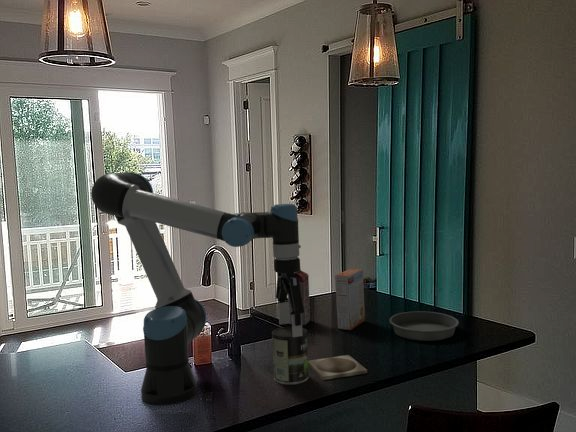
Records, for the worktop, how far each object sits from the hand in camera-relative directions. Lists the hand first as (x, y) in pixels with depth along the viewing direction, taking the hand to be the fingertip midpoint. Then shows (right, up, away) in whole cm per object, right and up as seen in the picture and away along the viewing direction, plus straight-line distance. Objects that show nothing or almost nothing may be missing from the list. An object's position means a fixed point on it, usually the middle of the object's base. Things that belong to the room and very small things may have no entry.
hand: (290, 329), depth 160 cm
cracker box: (+24, -9, +52) cm, 58 cm away
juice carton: (+4, -9, +59) cm, 59 cm away
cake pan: (+49, -10, +41) cm, 64 cm away
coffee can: (0, -15, +1) cm, 15 cm away
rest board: (+14, -13, +8) cm, 21 cm away
